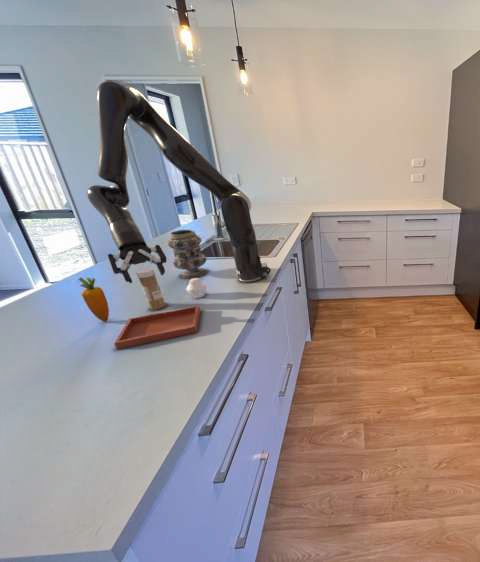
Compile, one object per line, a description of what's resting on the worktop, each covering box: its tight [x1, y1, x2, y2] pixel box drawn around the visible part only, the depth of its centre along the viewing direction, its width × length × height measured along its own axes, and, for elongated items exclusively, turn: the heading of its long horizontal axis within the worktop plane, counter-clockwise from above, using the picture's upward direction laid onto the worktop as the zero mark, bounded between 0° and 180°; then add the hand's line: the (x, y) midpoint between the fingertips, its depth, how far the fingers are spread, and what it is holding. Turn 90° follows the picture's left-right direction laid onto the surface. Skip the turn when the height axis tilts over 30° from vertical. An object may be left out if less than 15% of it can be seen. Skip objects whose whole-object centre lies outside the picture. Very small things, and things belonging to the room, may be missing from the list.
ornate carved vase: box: [166, 229, 208, 279], centre depth 122 cm, size 12×12×18 cm
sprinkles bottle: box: [135, 267, 167, 311], centre depth 97 cm, size 5×5×13 cm
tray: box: [114, 305, 201, 350], centre depth 87 cm, size 19×14×2 cm
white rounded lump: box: [186, 277, 208, 299], centre depth 105 cm, size 6×6×7 cm
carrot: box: [77, 277, 110, 323], centre depth 89 cm, size 5×5×15 cm
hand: (147, 277), depth 96 cm, fingers open, 8 cm apart
